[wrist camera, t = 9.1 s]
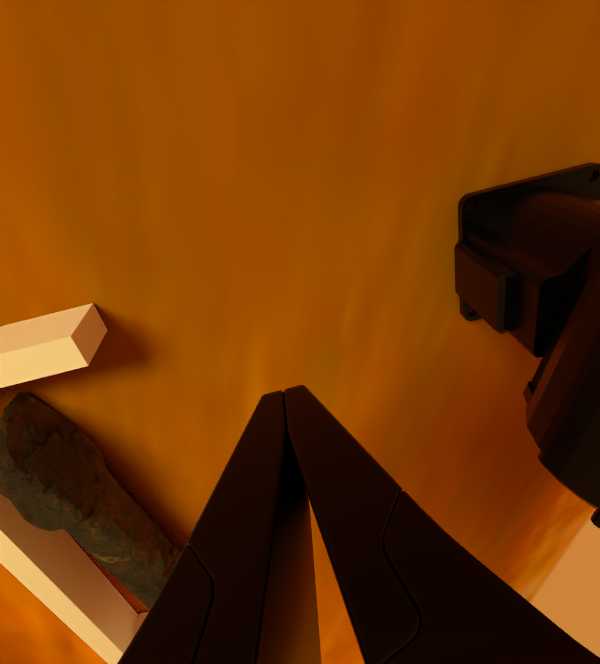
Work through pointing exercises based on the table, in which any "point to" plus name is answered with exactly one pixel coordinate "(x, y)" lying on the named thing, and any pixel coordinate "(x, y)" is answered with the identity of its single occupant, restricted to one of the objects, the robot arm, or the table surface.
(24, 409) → the hand tool
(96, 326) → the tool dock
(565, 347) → the robot arm
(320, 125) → the table surface
